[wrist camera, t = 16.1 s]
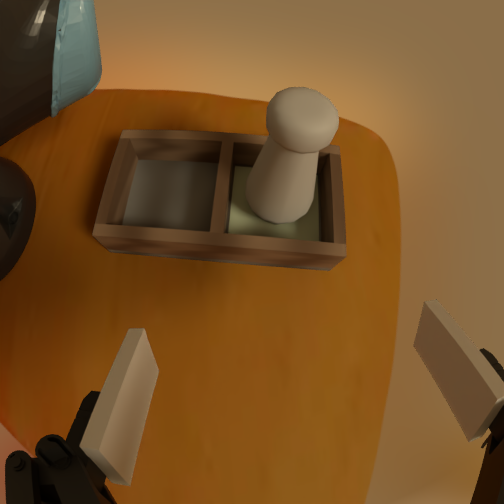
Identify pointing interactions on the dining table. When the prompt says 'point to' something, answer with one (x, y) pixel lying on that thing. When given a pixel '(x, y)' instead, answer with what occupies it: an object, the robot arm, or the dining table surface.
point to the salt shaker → (290, 154)
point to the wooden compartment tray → (212, 203)
